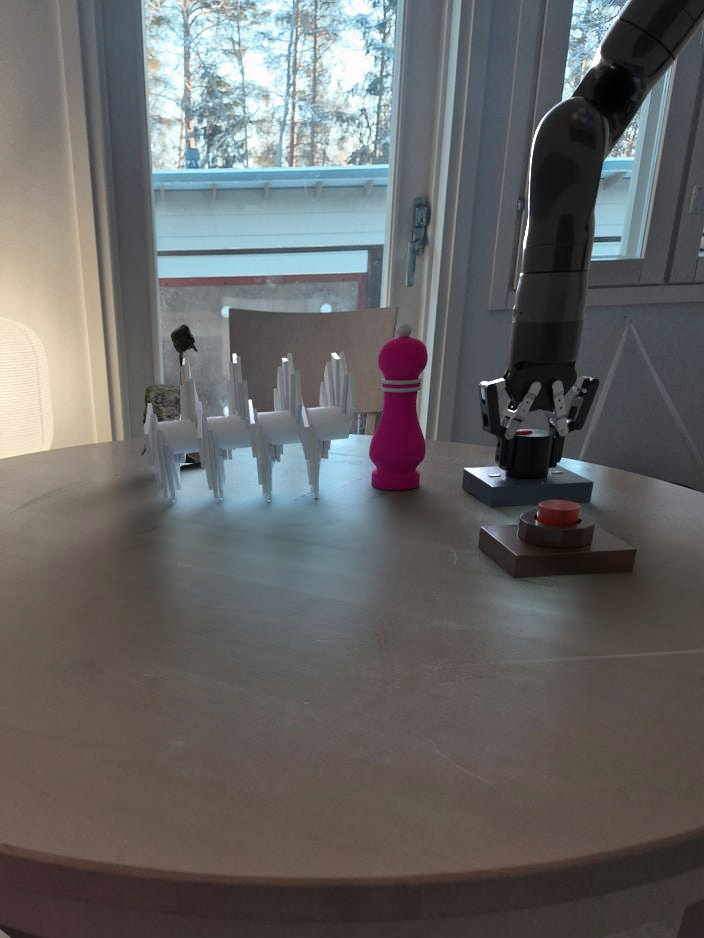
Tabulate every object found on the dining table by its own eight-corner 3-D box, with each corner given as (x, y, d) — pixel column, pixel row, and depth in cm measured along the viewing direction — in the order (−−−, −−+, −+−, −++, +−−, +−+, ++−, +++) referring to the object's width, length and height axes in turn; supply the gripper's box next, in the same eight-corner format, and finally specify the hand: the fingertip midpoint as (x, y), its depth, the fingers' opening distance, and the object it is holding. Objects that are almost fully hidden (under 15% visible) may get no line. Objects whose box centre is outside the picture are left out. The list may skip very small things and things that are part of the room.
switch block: (584, 541, 75) (591, 503, 74) (632, 572, 67) (641, 529, 66) (477, 547, 75) (482, 508, 73) (513, 578, 67) (519, 536, 65)
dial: (536, 468, 93) (542, 425, 91) (555, 477, 89) (562, 432, 87) (497, 470, 93) (502, 427, 91) (515, 480, 89) (521, 435, 86)
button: (566, 516, 71) (569, 498, 71) (584, 527, 68) (588, 508, 67) (529, 518, 71) (532, 500, 70) (546, 529, 68) (549, 511, 67)
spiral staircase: (161, 521, 101) (344, 506, 100) (142, 497, 84) (363, 478, 83) (150, 389, 101) (333, 372, 100) (129, 337, 84) (350, 315, 83)
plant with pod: (143, 461, 119) (132, 326, 110) (214, 457, 119) (208, 322, 110) (140, 472, 111) (128, 328, 103) (216, 468, 112) (209, 325, 103)
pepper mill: (357, 486, 99) (363, 324, 90) (386, 475, 104) (394, 320, 95) (404, 494, 94) (416, 324, 86) (433, 482, 99) (446, 320, 90)
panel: (552, 482, 97) (555, 462, 96) (590, 502, 88) (594, 480, 87) (461, 487, 96) (463, 466, 95) (490, 508, 87) (493, 485, 86)
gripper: (500, 321, 79) (482, 478, 87) (628, 315, 80) (599, 471, 88) (472, 318, 86) (458, 464, 94) (591, 313, 87) (567, 458, 95)
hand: (527, 467), depth 91 cm, fingers closed on dial, 5 cm apart
